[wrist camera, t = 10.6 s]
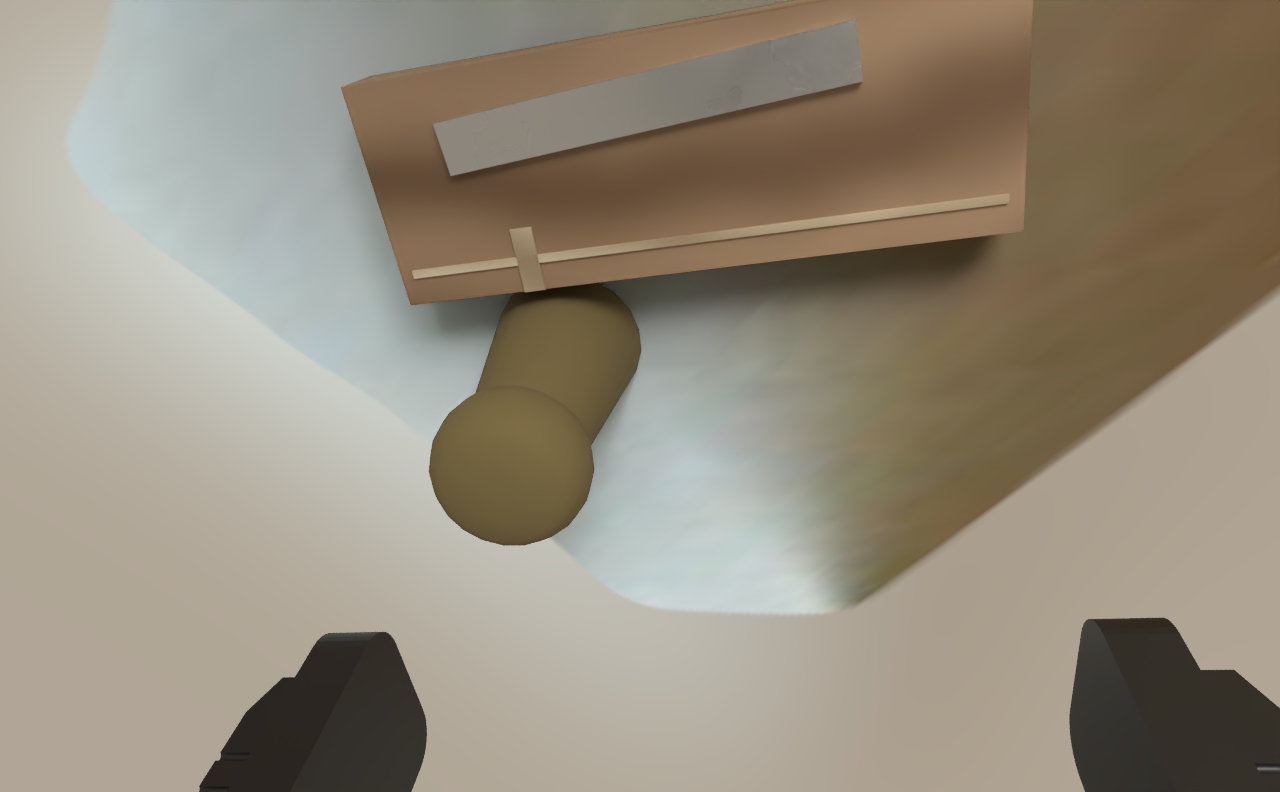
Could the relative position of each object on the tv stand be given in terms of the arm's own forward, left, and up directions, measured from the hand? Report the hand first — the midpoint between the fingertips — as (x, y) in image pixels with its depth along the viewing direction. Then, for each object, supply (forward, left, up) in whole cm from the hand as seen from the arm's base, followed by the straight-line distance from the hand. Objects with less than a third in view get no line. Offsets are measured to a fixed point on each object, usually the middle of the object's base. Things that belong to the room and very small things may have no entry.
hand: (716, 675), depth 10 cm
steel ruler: (-3, -3, -21) cm, 22 cm away
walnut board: (-1, -2, -24) cm, 24 cm away
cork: (+6, -8, -24) cm, 26 cm away
